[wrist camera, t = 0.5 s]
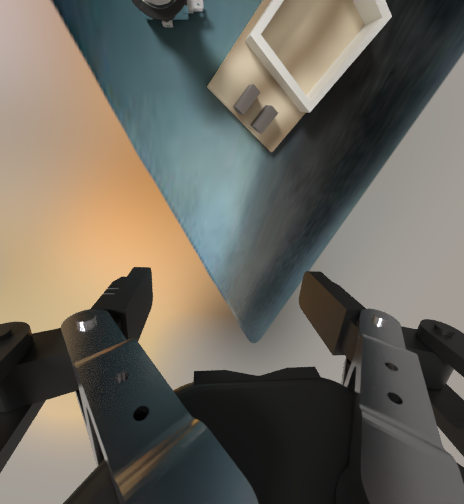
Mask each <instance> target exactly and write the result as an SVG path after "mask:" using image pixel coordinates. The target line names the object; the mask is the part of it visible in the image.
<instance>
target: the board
mask: <svg viewBox="0 0 464 504" xmlns="http://www.w3.org/2000/svg"><path fill="white" fill-rule="evenodd" d="M271 1H272V0H263V1H262V2H261V4H260V5H259V7H258V9H257V10H256V12H255V13H254V15H253V16H252V18H251V19H250V21H249V22H248V24H247V26H246V27H245V29H244V30H243V32H242V33H241V35H240V36H239V38H238V39H237V41H236V43H235V44H234V46H233V47H232V49H231V50H230V52H229V53H228V55H227V56H226V58H225V60H224V61H223V63H222V64H221V66H220V67H219V69H218V70H217V72H216V73H215V75H214V77H213V78H212V80H211V81H210V83H209V84H208V86H207V88H208V89H209V90H210V91H211V92H212V93H213V94H214V95H215V96H216V97H217V98H218V99H219V100H220V101H221V102H222V103H223V104H224V105H225V106H226V107H227V108H228V109H229V110H230V111H231V112H232V113H233V114H234V115H235V116H236V117H237V119H238V120H239V121H240V122H241V123H242V124H243V125H244V126H245V127H246V128H247V129H248V130H249V131H250V132H251V133H252V134H253V135H254V136H255V137H256V138H257V139H258V140H259V141H260V142H261V143H262V144H263V145H264V146H265V147H266V148H267V149H268V150H269V151H270V152H271V153H272V152H273V151H274V150H275V148H276V147H277V146H278V145H279V144H280V142H281V141H282V140H283V139H284V138H285V137H286V135H287V134H288V133H289V132H290V131H291V129H292V128H293V127H294V126H295V125H296V124H297V122H298V121H299V120H300V119H301V118H302V117H303V115H304V114H305V113H306V112H300V111H299V109H298V108H297V107H296V106H295V104H294V103H293V102H292V100H291V99H290V98H289V97H288V95H287V94H286V93H285V92H284V90H283V89H282V88H281V87H280V85H279V84H278V83H277V81H276V80H275V79H274V78H273V76H272V75H271V74H270V73H269V71H268V70H267V69H266V68H265V66H264V65H263V64H262V62H261V61H260V60H259V59H258V57H257V56H256V55H255V54H254V52H253V51H252V50H251V49H250V47H249V46H248V45H247V43H246V42H245V40H246V38H247V37H248V35H249V34H250V32H251V31H252V29H253V28H254V26H255V25H256V23H257V22H258V20H259V19H260V17H261V16H262V14H263V13H264V11H265V10H266V8H267V7H268V5H269V4H270V2H271ZM364 25H365V24H364V22H363V20H362V18H361V16H360V14H359V12H358V10H357V8H356V6H355V4H354V2H353V0H284V1H283V2H282V4H281V5H280V7H279V8H278V10H277V11H276V13H275V14H274V16H273V17H272V19H271V20H270V22H269V23H268V25H267V26H266V27H265V29H264V30H263V32H262V33H261V35H262V37H263V38H264V39H265V41H266V42H267V43H268V45H269V46H270V47H271V49H272V50H273V51H274V53H275V54H276V55H277V57H278V58H279V60H280V61H281V62H282V64H283V65H284V66H285V68H286V69H287V70H288V72H289V73H290V74H291V76H292V77H293V78H294V80H295V81H296V82H297V84H298V85H299V87H300V88H301V89H302V91H303V92H304V93H305V95H307V94H308V93H309V92H310V90H311V89H312V88H313V87H314V86H315V84H316V83H317V82H318V81H319V80H320V78H321V77H322V76H323V75H324V74H325V72H326V71H327V70H328V69H329V67H330V66H331V65H332V64H333V63H334V61H335V60H336V59H337V58H338V57H339V55H340V54H341V53H342V52H343V51H344V49H345V48H346V47H347V46H348V44H349V43H350V42H351V41H352V40H353V38H354V37H355V36H356V35H357V34H358V32H359V31H360V30H361V29H362V28H363V26H364Z"/></svg>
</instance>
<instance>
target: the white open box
mask: <svg viewBox="0 0 464 504" xmlns="http://www.w3.org/2000/svg"><path fill="white" fill-rule="evenodd" d="M283 1H284V0H272V1H271V2H270V4H269V5H268V7H267V8H266V10H265V11H264V13H263V14H262V16H261V17H260V19H259V20H258V22H257V23H256V25H255V26H254V28H253V29H252V31H251V32H250V34H249V35H248V37H247V38H246V40H245V42H246V43H247V45H248V46H249V47H250V49H251V50H252V51H253V52H254V54H255V55H256V56H257V57H258V59H259V60H260V61H261V62H262V64H263V65H264V66H265V68H266V69H267V70H268V71H269V73H270V74H271V75H272V76H273V78H274V79H275V80H276V81H277V83H278V84H279V85H280V87H281V88H282V89H283V90H284V92H285V93H286V94H287V95H288V97H289V98H290V99H291V100H292V102H293V103H294V104H295V106H296V107H297V108H298V109H299V111H300V112H308V113H310V112H311V111H312V110H313V108H314V107H315V106H316V105H317V104H318V103H319V101H320V100H321V99H322V98H323V97H324V96H325V94H326V93H327V92H328V91H329V90H330V89H331V87H332V86H333V85H334V84H335V83H336V82H337V80H338V79H339V78H340V77H341V76H342V75H343V73H344V72H345V71H346V70H347V69H348V68H349V66H350V65H351V64H352V63H353V62H354V61H355V59H356V58H357V57H358V56H359V55H360V54H361V52H362V51H363V50H364V49H365V48H366V46H367V45H368V44H369V43H370V42H371V41H372V39H373V38H374V37H375V36H376V35H377V34H378V32H379V31H380V30H381V29H382V28H383V27H384V25H385V24H386V23H387V22H388V21H389V20H390V18H391V17H392V15H391V13H390V10H389V8H388V6H387V3H386V1H385V0H353V2H354V4H355V6H356V8H357V10H358V12H359V14H360V16H361V18H362V20H363V22H364V24H365V25H364V26H363V28H362V29H361V30H360V31H359V32H358V34H357V35H356V36H355V37H354V38H353V40H352V41H351V42H350V43H349V44H348V46H347V47H346V48H345V49H344V51H343V52H342V53H341V54H340V55H339V57H338V58H337V59H336V60H335V61H334V63H333V64H332V65H331V66H330V67H329V69H328V70H327V71H326V72H325V74H324V75H323V76H322V77H321V78H320V80H319V81H318V82H317V83H316V84H315V86H314V87H313V88H312V89H311V90H310V92H309V93H308V94H307V95H305V93H304V92H303V91H302V89H301V88H300V87H299V85H298V84H297V82H296V81H295V80H294V78H293V77H292V76H291V74H290V73H289V72H288V70H287V69H286V68H285V66H284V65H283V64H282V62H281V61H280V60H279V58H278V57H277V55H276V54H275V53H274V51H273V50H272V49H271V47H270V46H269V45H268V43H267V42H266V41H265V39H264V38H263V37H262V35H261V33H262V32H263V30H264V29H265V27H266V26H267V25H268V23H269V22H270V20H271V19H272V17H273V16H274V14H275V13H276V11H277V10H278V8H279V7H280V5H281V4H282V2H283Z"/></svg>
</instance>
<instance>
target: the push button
mask: <svg viewBox="0 0 464 504" xmlns="http://www.w3.org/2000/svg"><path fill="white" fill-rule="evenodd" d="M132 2H133V3H134V4H135V5H136V7H137V8H138V9H139V10H140V11H141V12H142V14H143V16H144V18H145V19H147V20H152V19H154V20H162V25H163V27H173V23H172V19H175V20H187V19H188V13H193V11H203V0H199V1H198V0H132ZM197 4H199V6H198V5H197ZM167 25H169V26H167Z"/></svg>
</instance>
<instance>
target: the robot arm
mask: <svg viewBox="0 0 464 504" xmlns="http://www.w3.org/2000/svg"><path fill="white" fill-rule="evenodd" d="M151 274H152V273H151V268H147V267H134V268H133V269H132V270H131V272H130V273H129V275H128V276H127V277H121V278H119V279H117V280H115V281H113V282H112V283H111V285H110V286H109V287H108V289H107V290H106V291H105V292H104V294H102V296H101V297H100V298H99V299H98V300H97V302H96V303H95V304H94V305H93V306H92V308H91V309H89V310H84V311H81V312H78V313H75V314H73V315H72V316H70V317H68V318H67V319H66V320H65V321H64V322H63V323H62V325H61V328H59V329H54V330H49V331H44V332H39V333H34V334H32V333H31V329H30V326H29V325H28V324H27V323H24V322H9V323H4V324H0V472H1V471H2V469H3V468H4V466H5V464H6V463H7V461H8V460H9V458H10V457H11V455H12V453H13V452H14V450H15V449H16V447H17V445H18V444H19V442H20V441H21V439H22V437H23V436H24V434H25V433H26V431H27V429H28V428H29V426H30V425H31V423H32V421H33V420H34V418H35V417H36V415H37V413H38V412H39V410H40V409H41V407H42V405H43V404H44V402H45V401H46V400H47V399H51V398H54V397H57V396H60V395H64V394H67V393H70V392H74V391H75V393H76V396H77V399H78V403H79V406H80V409H81V413H82V416H83V419H84V422H85V425H86V429H87V432H88V435H89V439H90V442H91V446H92V450H93V454H94V458H95V461H96V465H97V468H96V469H95V470H94V471H93V472H92V473H91V474H90V475H89V476H88V477H87V478H86V479H85V481H84V482H83V483H82V484H81V485H80V486H79V487H78V488H77V489H76V490H75V491H74V492H73V493H72V495H71V496H70V497H69V498H68V499H67V500H66V501H65V502H64V503H63V504H464V467H462V466H461V465H459V464H458V463H457V462H456V461H455V459H454V458H453V457H452V456H451V454H449V453H448V452H446V451H445V449H444V448H443V445H442V442H441V439H440V435H439V431H438V428H437V426H438V427H439V428H440V429H441V431H442V432H443V433H444V434H445V435H446V436H447V438H448V439H449V440H450V441H451V442H452V443H453V445H454V446H455V447H456V448H457V449H458V450H459V452H460V453H461V454H462V455H463V456H464V400H463V399H462V398H461V397H459V395H458V394H457V393H455V392H454V391H453V390H452V389H451V388H450V387H449V386H448V385H447V384H446V382H447V380H448V379H449V377H450V375H451V373H452V371H453V370H454V369H455V370H456V371H457V372H458V373H459V374H461V375H462V376H463V377H464V334H463V333H462V332H460V331H459V330H457V329H455V328H453V327H451V326H449V325H447V324H444V323H442V322H438V321H435V320H428V319H426V320H422V321H421V322H420V325H419V327H418V329H412V328H406V327H401V325H400V323H399V322H398V321H397V320H396V319H395V318H394V317H392V316H390V315H389V314H387V313H384V312H382V311H379V310H375V309H366V308H365V307H363V306H362V305H361V304H360V303H359V302H358V301H357V300H355V299H354V298H353V297H351V295H349V294H348V293H347V292H345V290H344V289H343V288H341V287H340V286H339V285H337V284H335V283H334V282H332V281H331V280H330V279H328V278H327V277H326V276H325V275H324V274H323V273H322V272H310V271H307V272H305V274H304V276H303V281H302V286H301V291H300V296H299V304H300V307H301V309H302V311H303V312H304V314H305V315H306V317H307V318H308V320H309V321H310V322H311V324H312V325H313V327H314V328H315V330H316V331H317V333H318V334H319V336H320V337H321V338H322V340H323V341H324V343H325V344H326V346H327V347H328V349H329V350H330V352H331V353H332V355H345V356H346V359H345V362H344V367H343V374H342V381H341V384H339V383H337V382H335V381H332V380H329V379H325V378H321V377H320V375H319V373H318V372H317V370H316V368H315V367H297V368H285V369H281V370H278V371H275V372H272V373H268V374H265V375H261V376H255V375H249V374H243V373H238V372H232V371H228V370H215V371H194V382H192V383H189V384H186V385H184V386H181V387H179V388H177V389H175V390H172V389H171V387H170V386H169V385H168V384H167V382H166V380H165V379H164V378H163V376H162V375H161V373H160V372H159V371H158V369H157V368H156V366H155V365H154V364H153V362H152V361H151V360H150V358H149V357H148V355H147V354H146V353H145V351H144V350H143V348H142V347H141V346H140V344H139V343H138V340H139V338H140V335H141V333H142V330H143V328H144V325H145V322H146V320H147V317H148V315H149V312H150V310H151V306H152V301H153V292H152V275H151Z"/></svg>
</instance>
